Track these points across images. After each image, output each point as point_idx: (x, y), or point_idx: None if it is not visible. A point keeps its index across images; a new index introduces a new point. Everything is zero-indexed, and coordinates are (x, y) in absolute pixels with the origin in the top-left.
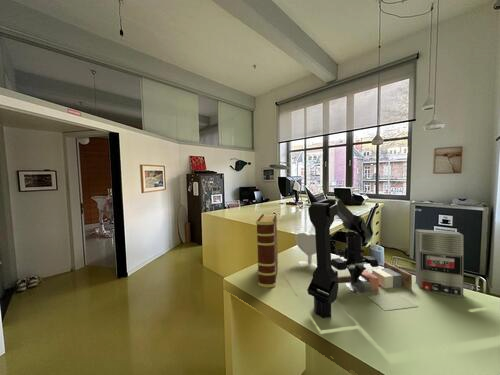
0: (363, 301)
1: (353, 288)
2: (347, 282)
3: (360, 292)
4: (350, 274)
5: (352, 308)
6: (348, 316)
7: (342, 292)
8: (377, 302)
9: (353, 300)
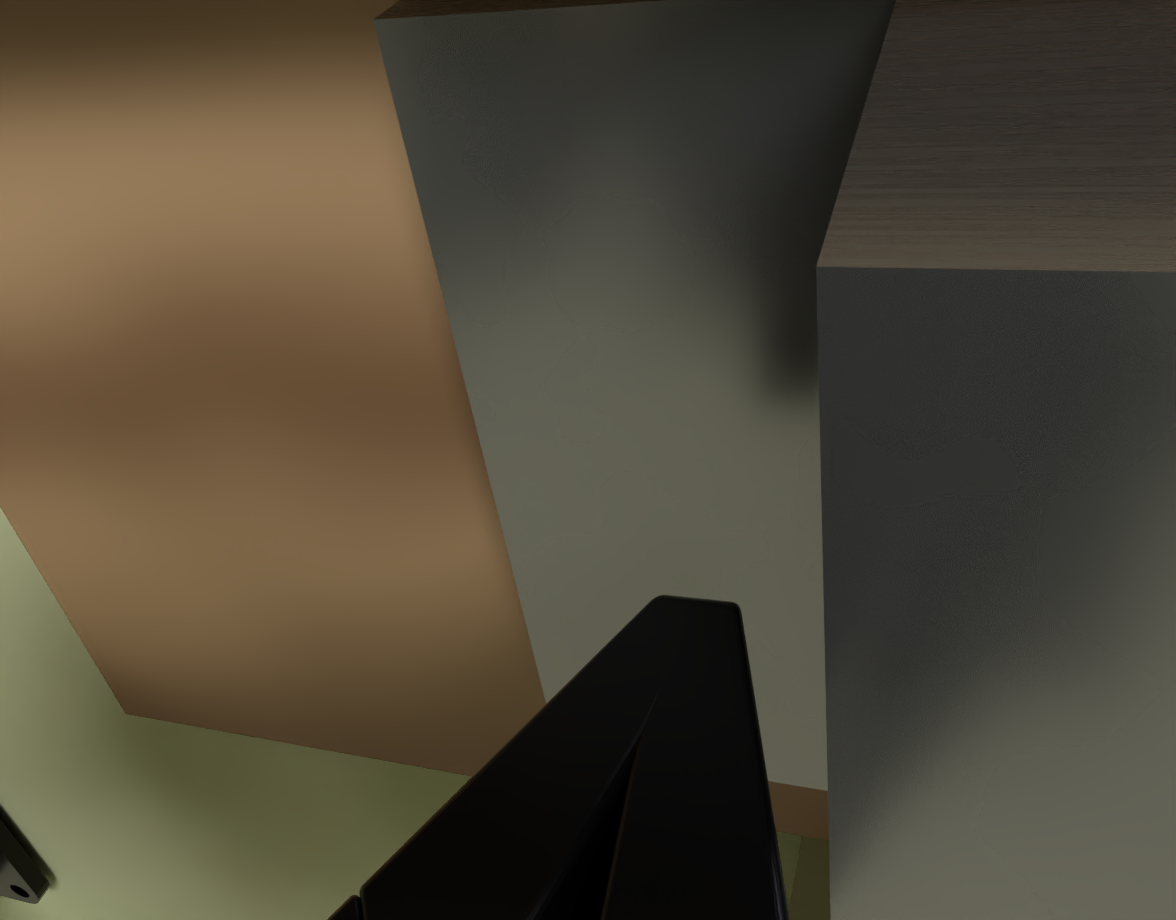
0: None
1: (634, 563)
2: (633, 80)
3: None
4: (386, 888)
5: (345, 851)
6: (230, 914)
7: None
8: None
9: None
